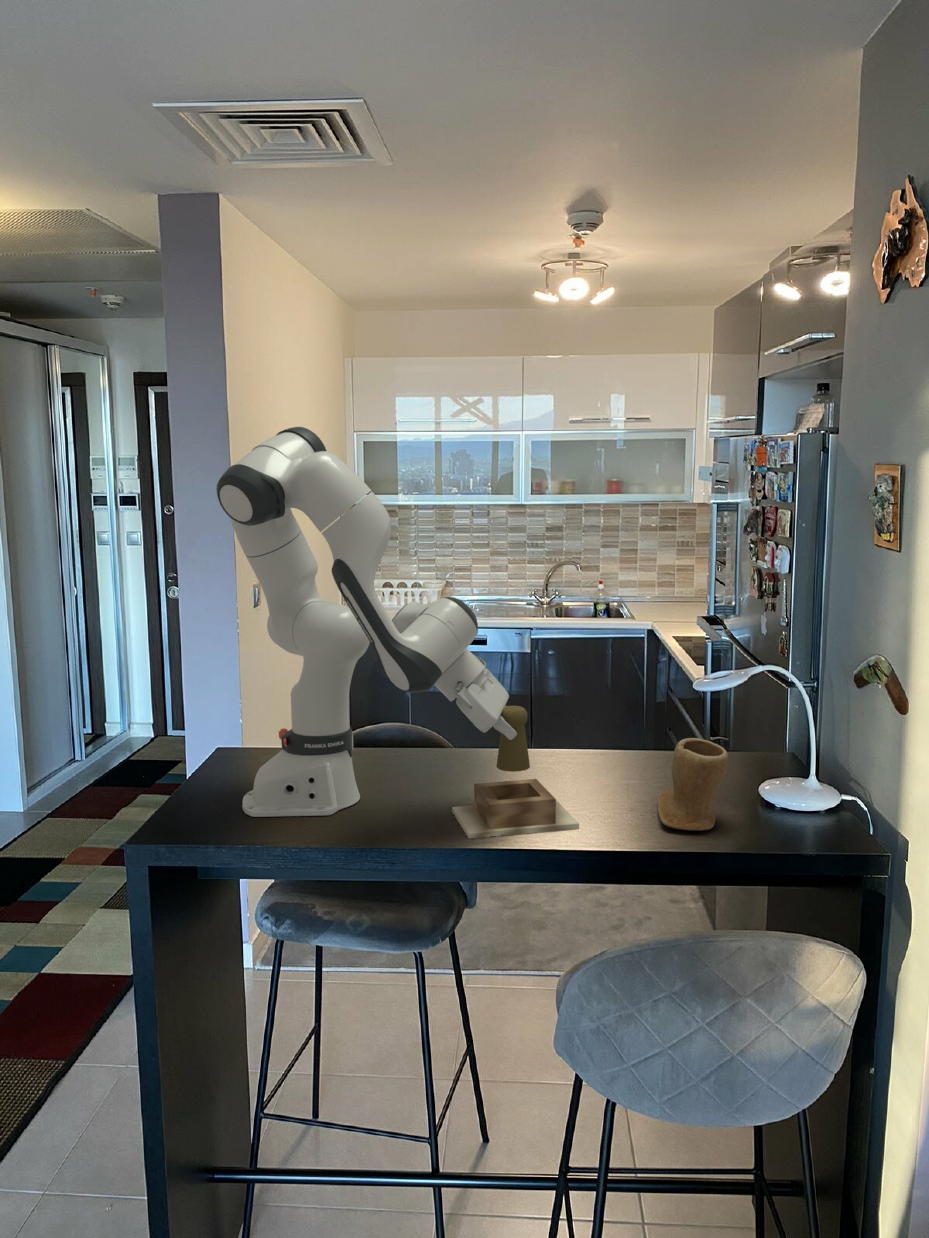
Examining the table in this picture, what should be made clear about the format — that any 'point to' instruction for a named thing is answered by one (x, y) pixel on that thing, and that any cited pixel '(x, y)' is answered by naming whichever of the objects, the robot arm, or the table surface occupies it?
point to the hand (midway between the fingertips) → (516, 732)
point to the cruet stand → (512, 810)
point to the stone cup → (693, 785)
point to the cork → (514, 742)
